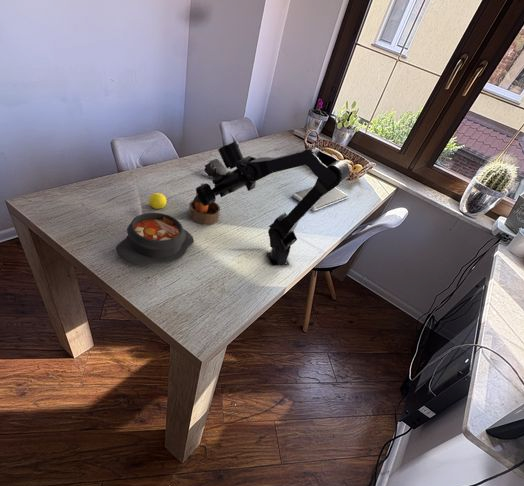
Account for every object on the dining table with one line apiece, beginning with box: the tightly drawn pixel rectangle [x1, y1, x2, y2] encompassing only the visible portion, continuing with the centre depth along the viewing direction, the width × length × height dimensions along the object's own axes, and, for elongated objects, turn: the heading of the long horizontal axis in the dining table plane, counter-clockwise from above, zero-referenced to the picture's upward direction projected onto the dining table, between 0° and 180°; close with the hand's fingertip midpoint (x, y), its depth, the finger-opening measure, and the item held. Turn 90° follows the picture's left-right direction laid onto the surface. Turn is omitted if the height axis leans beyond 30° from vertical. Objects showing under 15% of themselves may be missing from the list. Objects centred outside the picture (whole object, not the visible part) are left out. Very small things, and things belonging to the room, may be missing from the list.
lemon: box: [148, 192, 167, 210], centre depth 128 cm, size 7×5×5 cm
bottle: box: [194, 182, 208, 214], centre depth 128 cm, size 5×5×12 cm
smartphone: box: [291, 186, 349, 212], centre depth 164 cm, size 13×27×2 cm, turn 135°
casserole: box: [115, 212, 195, 267], centre depth 111 cm, size 25×19×8 cm
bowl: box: [187, 199, 221, 226], centre depth 130 cm, size 11×11×4 cm
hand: (203, 196), depth 127 cm, fingers open, 9 cm apart
